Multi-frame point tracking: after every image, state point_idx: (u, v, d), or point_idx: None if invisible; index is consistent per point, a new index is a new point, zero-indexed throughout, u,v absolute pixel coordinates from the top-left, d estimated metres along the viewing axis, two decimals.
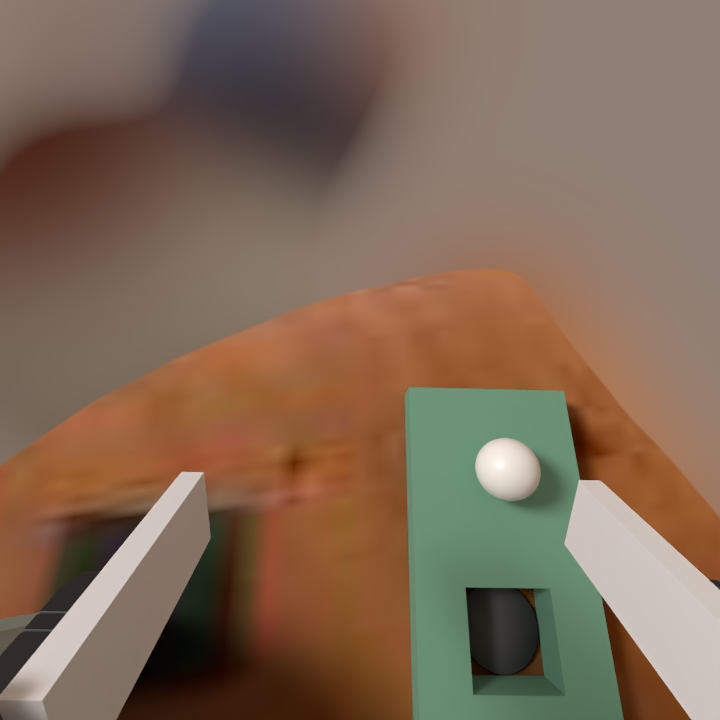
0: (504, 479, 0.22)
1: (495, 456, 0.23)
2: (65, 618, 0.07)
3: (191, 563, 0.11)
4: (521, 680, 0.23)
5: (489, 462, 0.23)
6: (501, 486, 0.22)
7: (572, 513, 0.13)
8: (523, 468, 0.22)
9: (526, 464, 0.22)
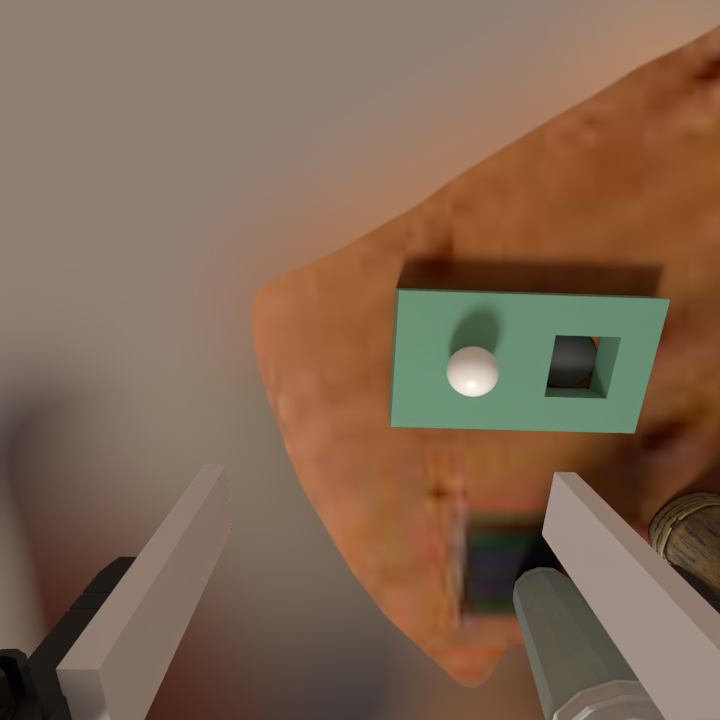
0: (486, 389, 0.27)
1: (467, 392, 0.27)
2: (110, 598, 0.08)
3: (215, 552, 0.12)
4: (602, 353, 0.32)
5: (470, 395, 0.28)
6: (490, 389, 0.28)
7: (549, 504, 0.13)
8: (481, 377, 0.27)
9: (478, 373, 0.27)
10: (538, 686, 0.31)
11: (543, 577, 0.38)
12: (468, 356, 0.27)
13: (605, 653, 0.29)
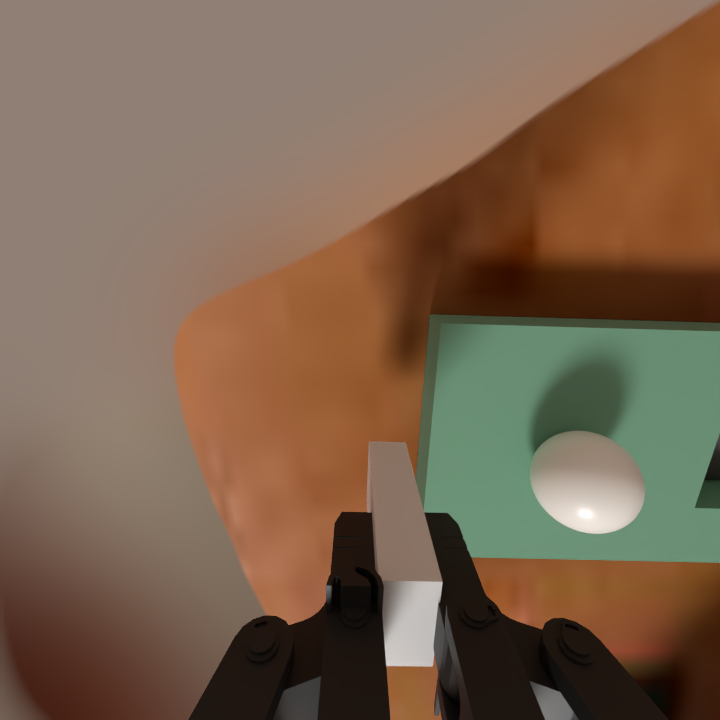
0: (623, 526, 0.13)
1: (582, 529, 0.14)
2: (378, 536, 0.10)
3: None
4: None
5: (586, 532, 0.14)
6: None
7: None
8: (619, 508, 0.13)
9: (613, 501, 0.13)
10: None
11: None
12: (587, 461, 0.13)
13: None
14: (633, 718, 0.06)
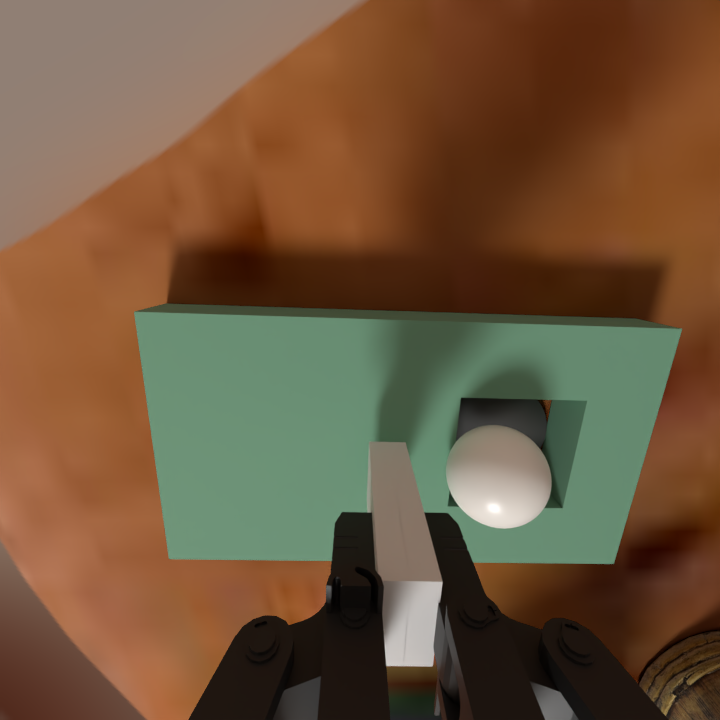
0: (451, 493, 0.15)
1: None
2: (377, 536, 0.10)
3: None
4: (556, 421, 0.18)
5: None
6: (457, 503, 0.14)
7: None
8: (447, 460, 0.15)
9: None
10: None
11: None
12: (475, 428, 0.15)
13: None
14: (634, 719, 0.06)
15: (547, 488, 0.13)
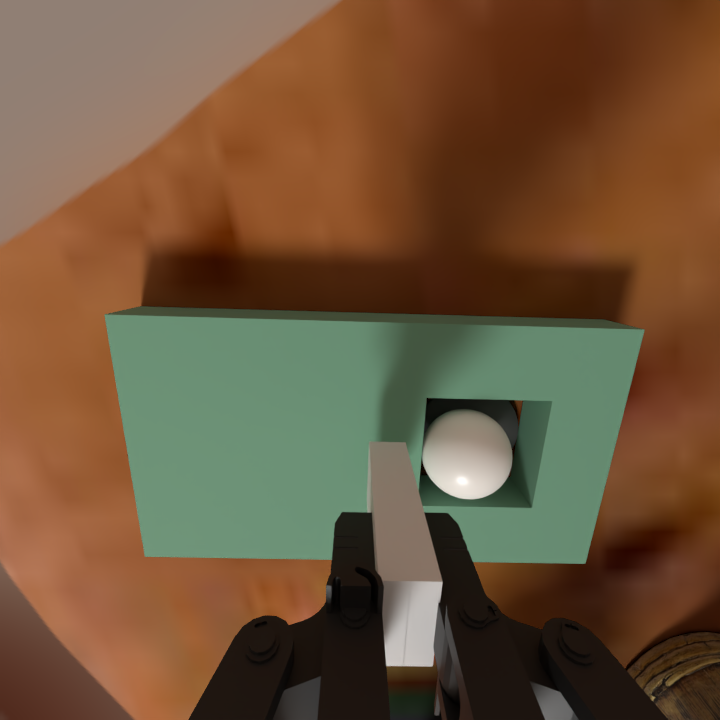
0: (441, 485, 0.16)
1: None
2: (377, 536, 0.10)
3: None
4: (527, 421, 0.18)
5: None
6: (452, 491, 0.15)
7: None
8: (428, 456, 0.16)
9: (427, 448, 0.16)
10: None
11: None
12: (439, 418, 0.16)
13: None
14: (634, 718, 0.06)
15: None
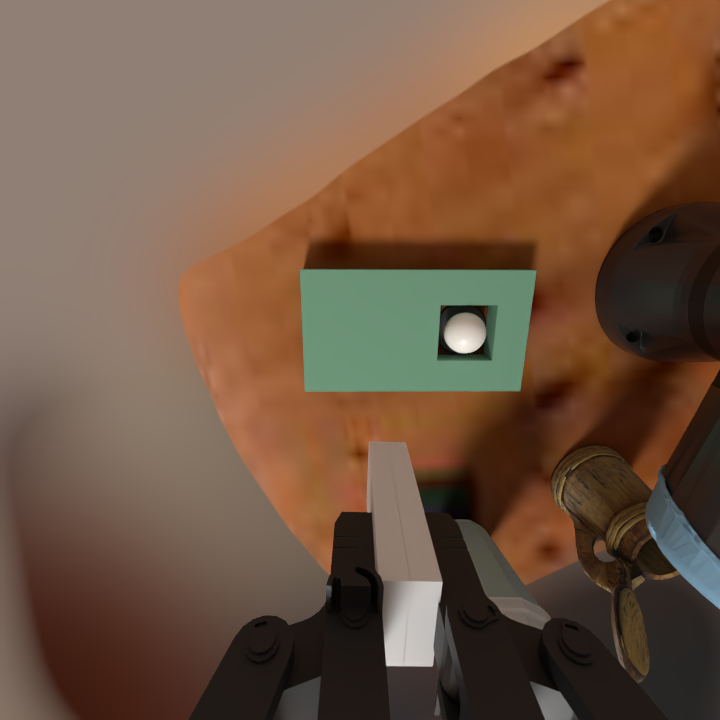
0: (458, 345, 0.34)
1: (448, 345, 0.35)
2: (378, 536, 0.10)
3: None
4: (489, 321, 0.36)
5: (452, 349, 0.35)
6: (464, 347, 0.34)
7: None
8: (451, 333, 0.34)
9: (450, 330, 0.34)
10: None
11: None
12: (452, 317, 0.35)
13: (490, 579, 0.34)
14: (633, 718, 0.06)
15: None
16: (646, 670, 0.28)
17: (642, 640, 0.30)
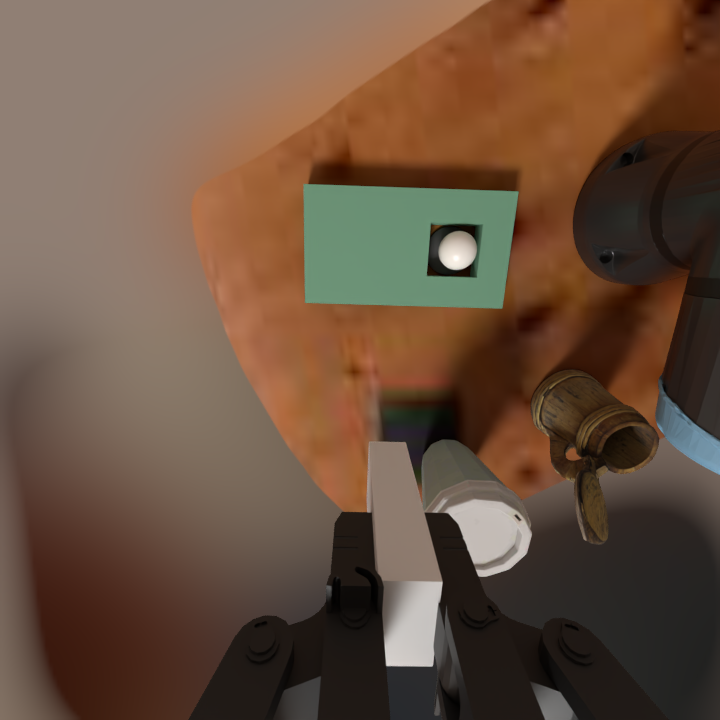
0: (456, 259, 0.37)
1: (444, 262, 0.38)
2: (377, 536, 0.10)
3: None
4: None
5: (448, 265, 0.38)
6: (461, 260, 0.37)
7: None
8: (450, 248, 0.37)
9: (448, 245, 0.37)
10: (423, 509, 0.39)
11: (443, 443, 0.45)
12: (447, 235, 0.38)
13: (469, 472, 0.37)
14: (634, 719, 0.06)
15: None
16: (605, 538, 0.32)
17: (602, 517, 0.33)
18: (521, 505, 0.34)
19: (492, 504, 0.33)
